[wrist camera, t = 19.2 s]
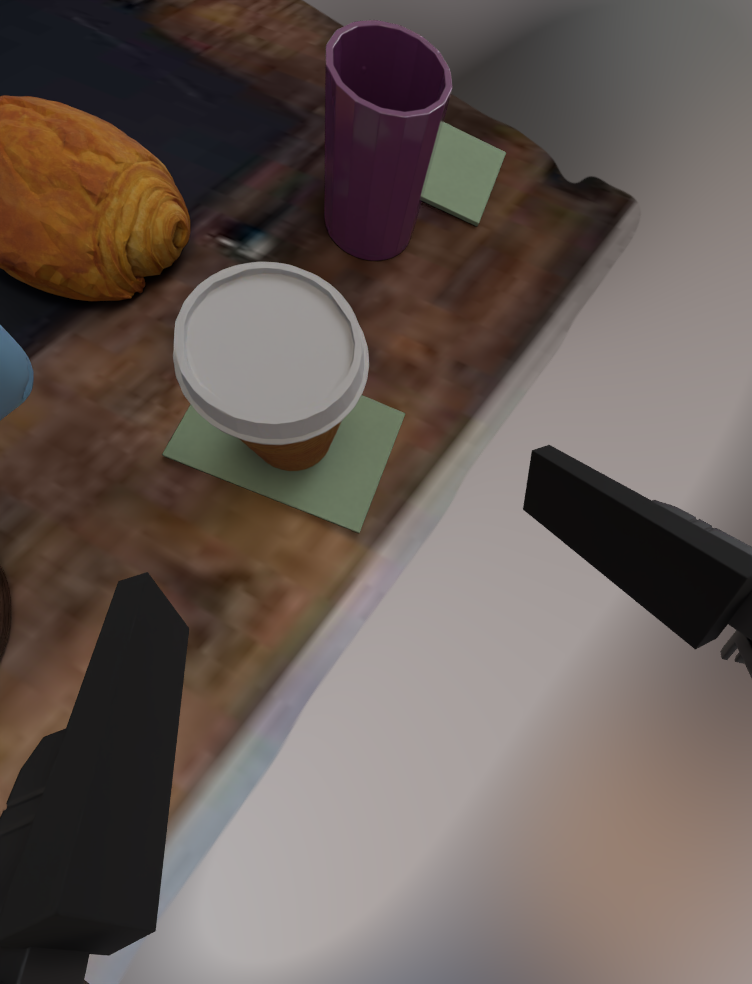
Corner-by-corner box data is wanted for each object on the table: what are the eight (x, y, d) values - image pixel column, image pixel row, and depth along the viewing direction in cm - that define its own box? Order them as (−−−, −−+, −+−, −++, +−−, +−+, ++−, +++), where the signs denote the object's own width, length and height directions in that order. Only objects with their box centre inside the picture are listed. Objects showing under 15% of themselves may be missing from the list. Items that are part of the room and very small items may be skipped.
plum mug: (425, 249, 34) (472, 107, 24) (346, 269, 32) (357, 124, 22) (378, 158, 36) (401, -14, 25) (299, 173, 34) (288, -8, 23)
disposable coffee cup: (203, 443, 27) (112, 347, 15) (282, 358, 29) (256, 220, 17) (304, 515, 27) (290, 476, 15) (374, 425, 29) (409, 330, 17)
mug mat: (332, 159, 35) (333, 155, 34) (371, 92, 38) (371, 87, 37) (477, 226, 36) (478, 223, 35) (504, 156, 39) (506, 152, 38)
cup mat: (163, 456, 26) (161, 454, 26) (229, 341, 29) (228, 338, 29) (358, 533, 27) (359, 532, 27) (404, 415, 30) (405, 413, 30)
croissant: (81, 169, 33) (-4, 38, 25) (225, 224, 31) (181, 103, 24) (-32, 275, 29) (-176, 157, 21) (127, 344, 27) (35, 244, 20)
